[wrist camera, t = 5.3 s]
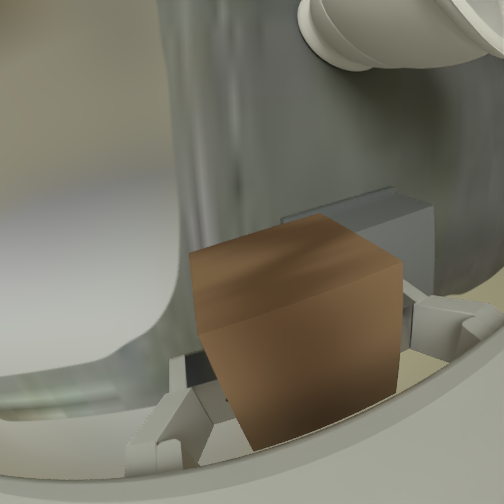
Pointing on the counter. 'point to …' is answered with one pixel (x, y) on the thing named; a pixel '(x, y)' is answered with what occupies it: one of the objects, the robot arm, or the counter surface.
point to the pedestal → (389, 229)
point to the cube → (299, 325)
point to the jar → (402, 32)
